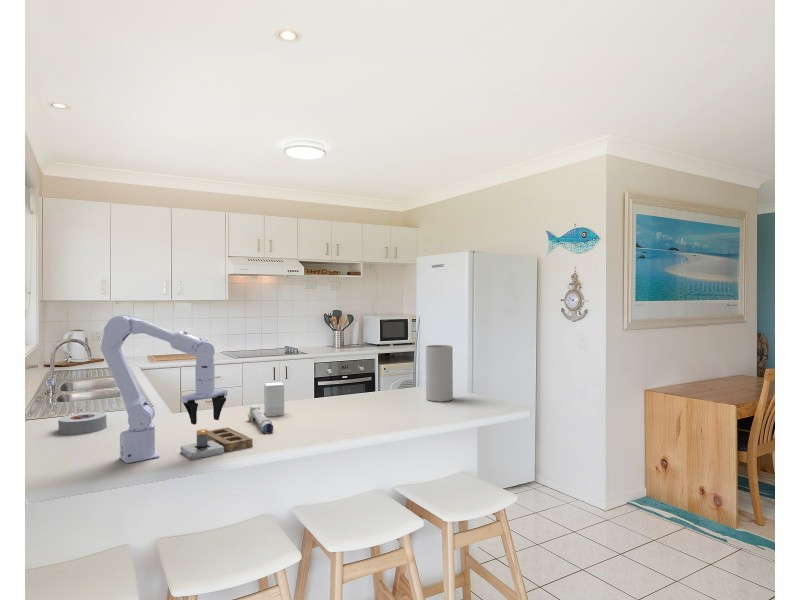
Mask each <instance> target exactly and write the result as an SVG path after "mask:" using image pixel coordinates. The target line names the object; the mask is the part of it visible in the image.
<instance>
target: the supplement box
mask: <svg viewBox="0 0 800 600" xmlns="http://www.w3.org/2000/svg"><path fill="white" fill-rule="evenodd" d="M263 384H264V385H263V406H264V407H263V409H264V411H263V414H264V415H265V417H276V416H277V415H278V416H285V383H282V382H281V381H278V382H269V383H268V382H266V383H263ZM278 416H277V417H278Z"/></svg>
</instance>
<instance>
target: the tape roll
mask: <svg viewBox="0 0 800 600" xmlns="http://www.w3.org/2000/svg"><path fill="white" fill-rule="evenodd" d="M57 422H58V424H57V425H58V434H60V435H64V436H75V435H76V436H77V435H85V434H92V433H97V432H100V431H103V430H105V429H106V428H107V427H108V426H107V425H108V424H107V414H106V413H105V412H99V411H91V412H89V411H87V412H80V413H74V414H68V415H65V416H62V417H60V418H59V419H58V421H57Z"/></svg>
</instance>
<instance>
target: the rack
mask: <svg viewBox="0 0 800 600" xmlns="http://www.w3.org/2000/svg"><path fill="white" fill-rule="evenodd" d="M207 436H208V441H211V440H212V441H214V442H216V443H218V444H220V445H221V446H223V447H224V453H225V452H226V453H227V452H231V451H237V450H243V449H248V448H251V447H253V441H254V440H253V438H252V437H249V436H247V435H245V434H243V433H241V432H238V431H237V430H234V429H232V428H230V427H228V426H227V427H221V428H216V429H211V430H210V429H209V430H207Z"/></svg>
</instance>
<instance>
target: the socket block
mask: <svg viewBox="0 0 800 600" xmlns="http://www.w3.org/2000/svg"><path fill="white" fill-rule="evenodd" d="M224 453H225V451H224V447H223V446H221V445H220V444H218V443H216V442H214V441H212V440H211V441H208V447H207V448H201V449H197V442H196V443H191V444H186V445H180V454H182V455H184V457H187V458H188V459H190V460H191V461H194V460H198V459H202V458H207V457H213V456H218V455H221V454H224Z"/></svg>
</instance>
